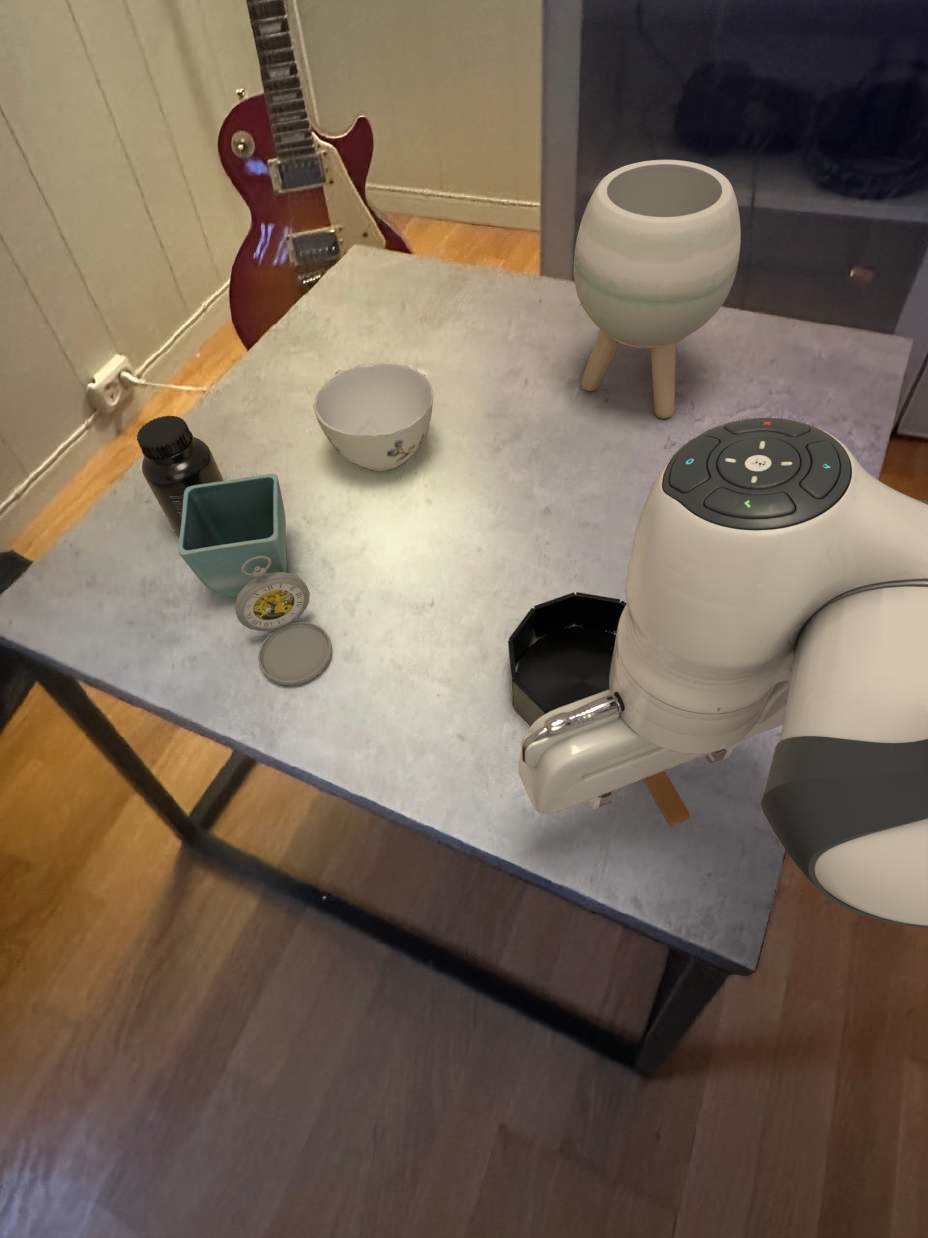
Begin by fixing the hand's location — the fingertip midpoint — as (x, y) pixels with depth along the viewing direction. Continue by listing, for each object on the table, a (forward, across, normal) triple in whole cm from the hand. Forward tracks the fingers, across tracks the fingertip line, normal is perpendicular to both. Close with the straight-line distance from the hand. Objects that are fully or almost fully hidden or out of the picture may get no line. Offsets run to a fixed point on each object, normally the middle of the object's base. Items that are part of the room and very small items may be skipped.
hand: (655, 774), depth 54 cm
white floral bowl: (+6, -7, +49) cm, 49 cm away
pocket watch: (+6, -22, +26) cm, 34 cm away
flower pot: (+6, -24, +36) cm, 43 cm away
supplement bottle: (+6, -28, +46) cm, 54 cm away
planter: (+6, +24, +46) cm, 52 cm away
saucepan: (+5, 0, +7) cm, 9 cm away
